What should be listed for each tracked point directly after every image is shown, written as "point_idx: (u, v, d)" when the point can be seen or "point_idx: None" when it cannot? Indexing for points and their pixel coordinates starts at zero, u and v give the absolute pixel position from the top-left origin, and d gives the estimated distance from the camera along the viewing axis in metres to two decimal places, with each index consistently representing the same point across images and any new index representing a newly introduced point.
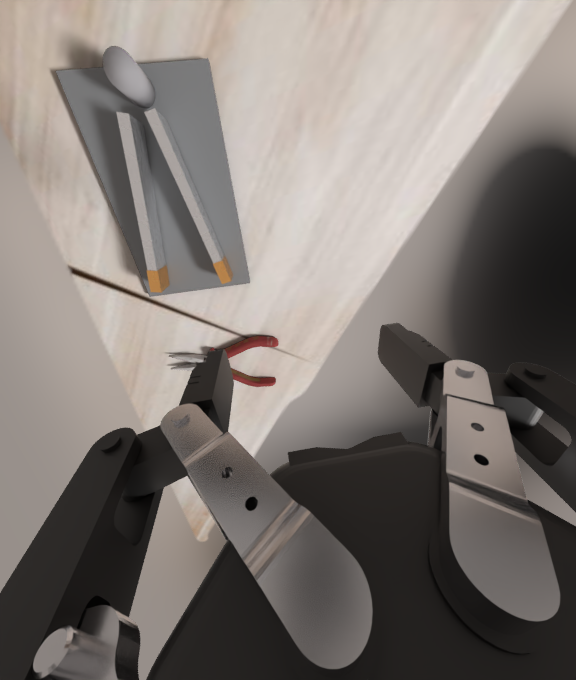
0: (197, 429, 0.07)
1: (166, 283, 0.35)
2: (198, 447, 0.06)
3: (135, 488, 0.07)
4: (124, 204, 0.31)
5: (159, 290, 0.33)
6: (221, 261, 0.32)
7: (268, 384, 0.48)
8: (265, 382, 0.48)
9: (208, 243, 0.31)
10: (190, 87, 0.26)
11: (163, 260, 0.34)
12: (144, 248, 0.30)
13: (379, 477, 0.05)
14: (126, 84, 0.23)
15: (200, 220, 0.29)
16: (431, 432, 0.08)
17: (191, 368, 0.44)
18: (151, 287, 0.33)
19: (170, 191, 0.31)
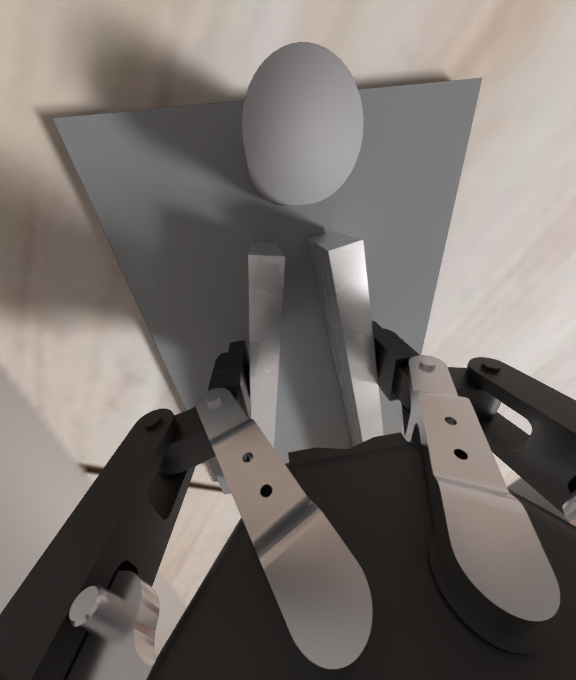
0: (231, 409, 0.07)
1: None
2: (225, 429, 0.07)
3: (169, 466, 0.07)
4: (201, 382, 0.14)
5: None
6: None
7: None
8: None
9: None
10: (410, 153, 0.10)
11: None
12: None
13: (379, 477, 0.05)
14: (309, 182, 0.06)
15: None
16: (404, 428, 0.08)
17: None
18: None
19: (300, 355, 0.14)
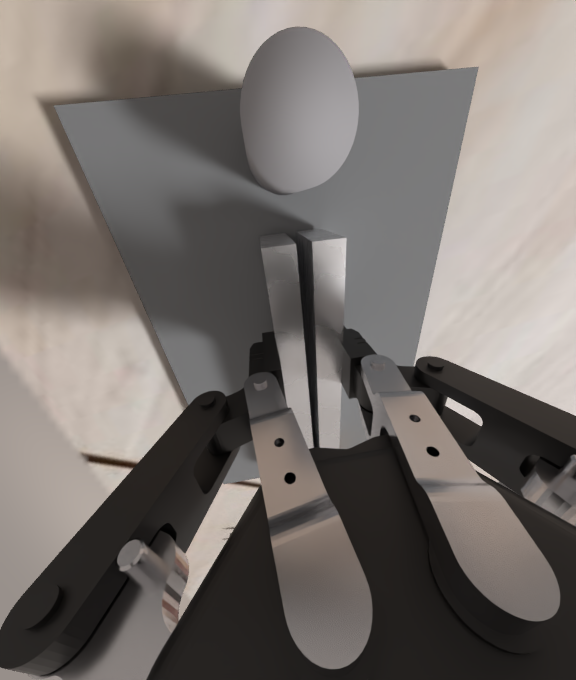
0: (279, 390, 0.08)
1: None
2: (265, 412, 0.07)
3: (216, 445, 0.08)
4: (201, 372, 0.15)
5: None
6: None
7: None
8: None
9: None
10: (407, 143, 0.10)
11: None
12: None
13: (379, 477, 0.05)
14: (306, 167, 0.06)
15: (332, 439, 0.13)
16: (367, 428, 0.09)
17: None
18: None
19: None
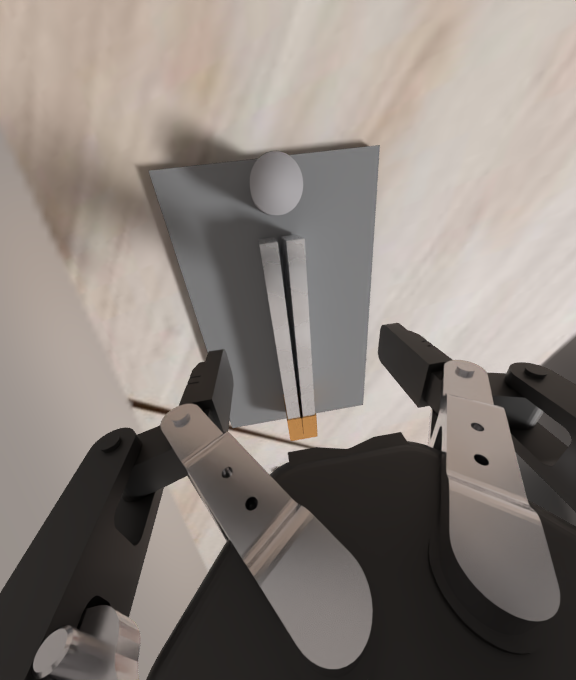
0: (197, 429, 0.07)
1: None
2: (198, 447, 0.06)
3: (135, 488, 0.07)
4: (219, 332, 0.22)
5: (302, 437, 0.24)
6: (314, 416, 0.23)
7: None
8: None
9: (306, 396, 0.22)
10: (344, 185, 0.17)
11: None
12: (286, 398, 0.21)
13: (379, 477, 0.05)
14: (280, 205, 0.14)
15: (307, 372, 0.20)
16: (431, 432, 0.08)
17: None
18: (292, 436, 0.24)
19: None
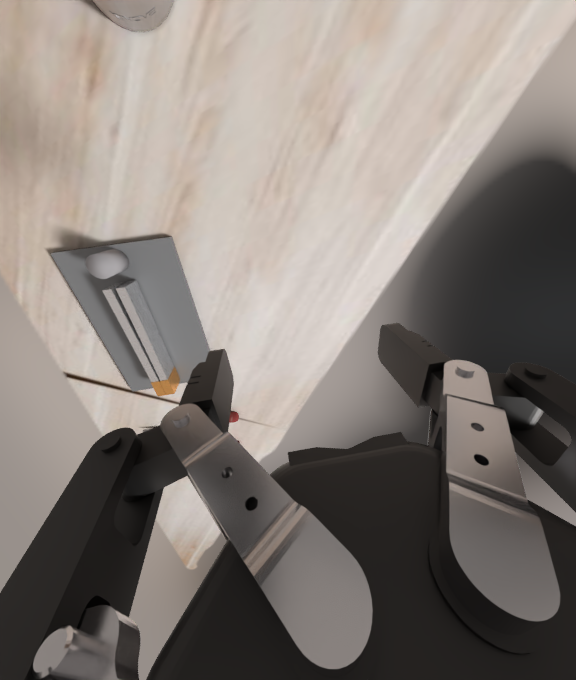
0: (197, 429, 0.07)
1: None
2: (198, 447, 0.06)
3: (135, 488, 0.07)
4: (108, 331, 0.38)
5: (164, 393, 0.40)
6: (167, 380, 0.39)
7: None
8: None
9: (157, 368, 0.38)
10: (157, 255, 0.33)
11: None
12: (145, 369, 0.38)
13: (379, 477, 0.05)
14: (104, 274, 0.30)
15: (152, 354, 0.37)
16: (431, 432, 0.08)
17: None
18: (157, 393, 0.40)
19: None
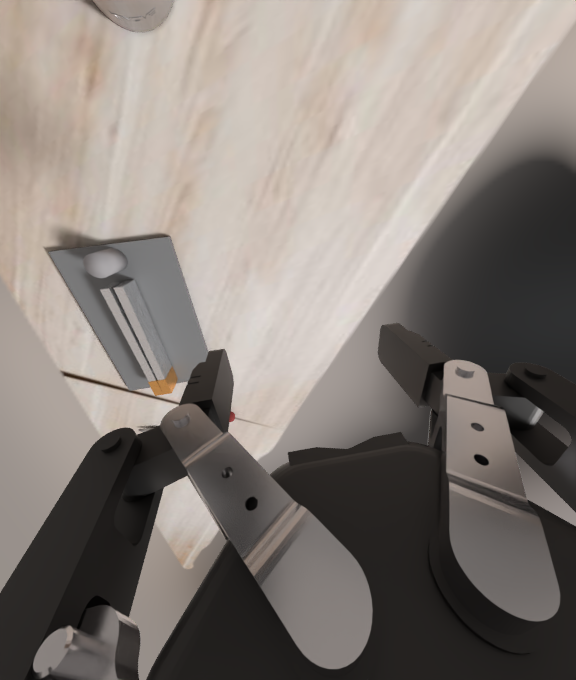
0: (197, 429, 0.07)
1: None
2: (198, 447, 0.06)
3: (135, 488, 0.07)
4: (105, 330, 0.38)
5: (161, 393, 0.40)
6: (164, 380, 0.39)
7: None
8: None
9: (155, 367, 0.38)
10: (155, 255, 0.33)
11: None
12: (142, 368, 0.38)
13: (379, 477, 0.05)
14: (101, 274, 0.30)
15: (150, 353, 0.37)
16: (431, 432, 0.08)
17: None
18: (154, 392, 0.40)
19: None
